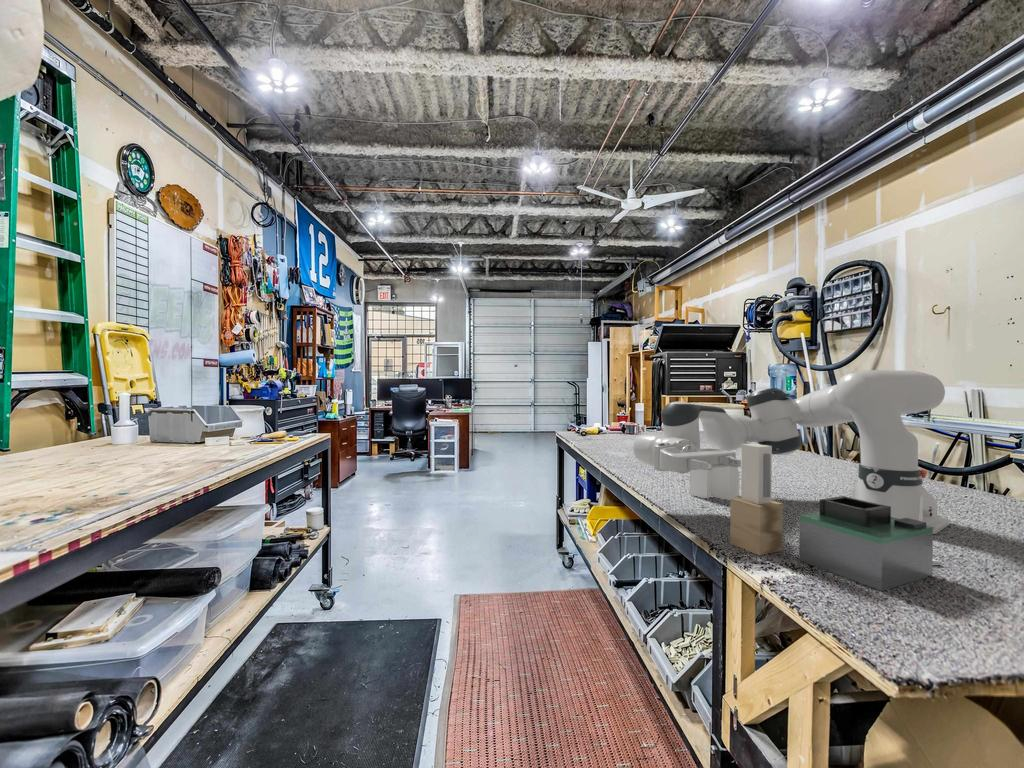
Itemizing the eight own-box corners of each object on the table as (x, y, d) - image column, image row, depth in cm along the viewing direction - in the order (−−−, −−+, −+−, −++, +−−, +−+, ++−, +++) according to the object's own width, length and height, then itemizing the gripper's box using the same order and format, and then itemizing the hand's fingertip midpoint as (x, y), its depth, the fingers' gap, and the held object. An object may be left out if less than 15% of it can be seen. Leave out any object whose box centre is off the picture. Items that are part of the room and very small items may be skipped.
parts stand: (752, 539, 97) (752, 495, 97) (782, 550, 91) (782, 503, 91) (730, 543, 95) (730, 498, 95) (759, 555, 88) (759, 506, 88)
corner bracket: (689, 495, 136) (690, 457, 136) (705, 489, 143) (705, 453, 143) (725, 502, 128) (725, 462, 128) (739, 496, 135) (739, 458, 135)
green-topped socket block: (848, 548, 92) (848, 492, 92) (932, 575, 80) (932, 510, 79) (799, 559, 86) (799, 500, 86) (881, 591, 73) (882, 520, 73)
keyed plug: (754, 497, 95) (754, 443, 95) (774, 503, 91) (775, 446, 91) (741, 499, 94) (741, 444, 94) (761, 505, 89) (762, 447, 89)
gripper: (709, 464, 117) (755, 475, 104) (649, 470, 109) (691, 482, 96) (709, 441, 117) (755, 449, 104) (649, 445, 109) (691, 454, 96)
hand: (724, 465), depth 100 cm, fingers open, 8 cm apart
